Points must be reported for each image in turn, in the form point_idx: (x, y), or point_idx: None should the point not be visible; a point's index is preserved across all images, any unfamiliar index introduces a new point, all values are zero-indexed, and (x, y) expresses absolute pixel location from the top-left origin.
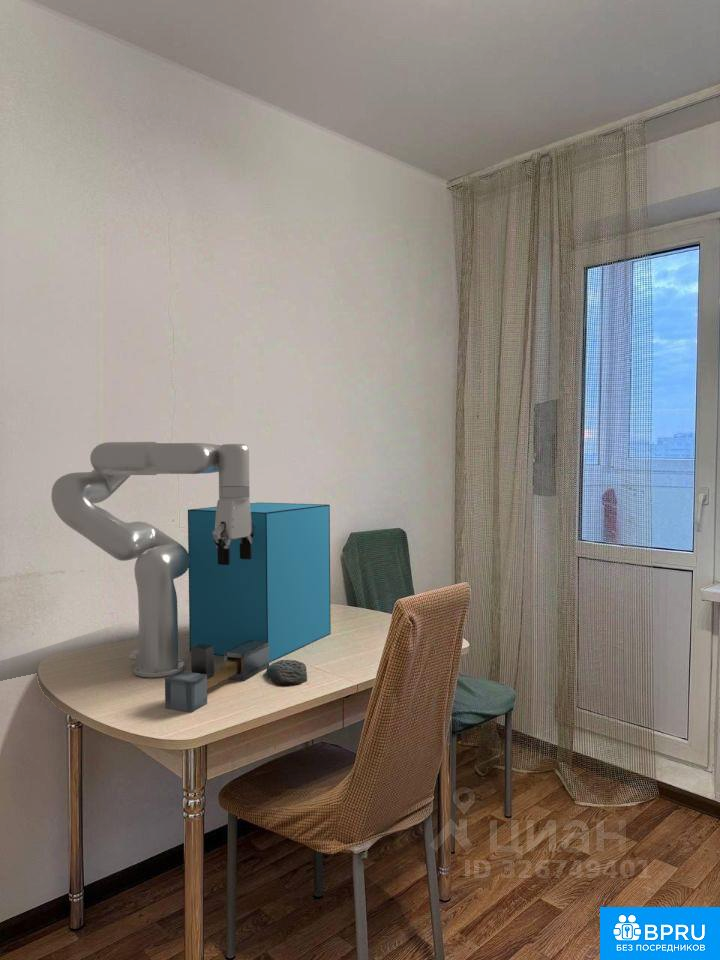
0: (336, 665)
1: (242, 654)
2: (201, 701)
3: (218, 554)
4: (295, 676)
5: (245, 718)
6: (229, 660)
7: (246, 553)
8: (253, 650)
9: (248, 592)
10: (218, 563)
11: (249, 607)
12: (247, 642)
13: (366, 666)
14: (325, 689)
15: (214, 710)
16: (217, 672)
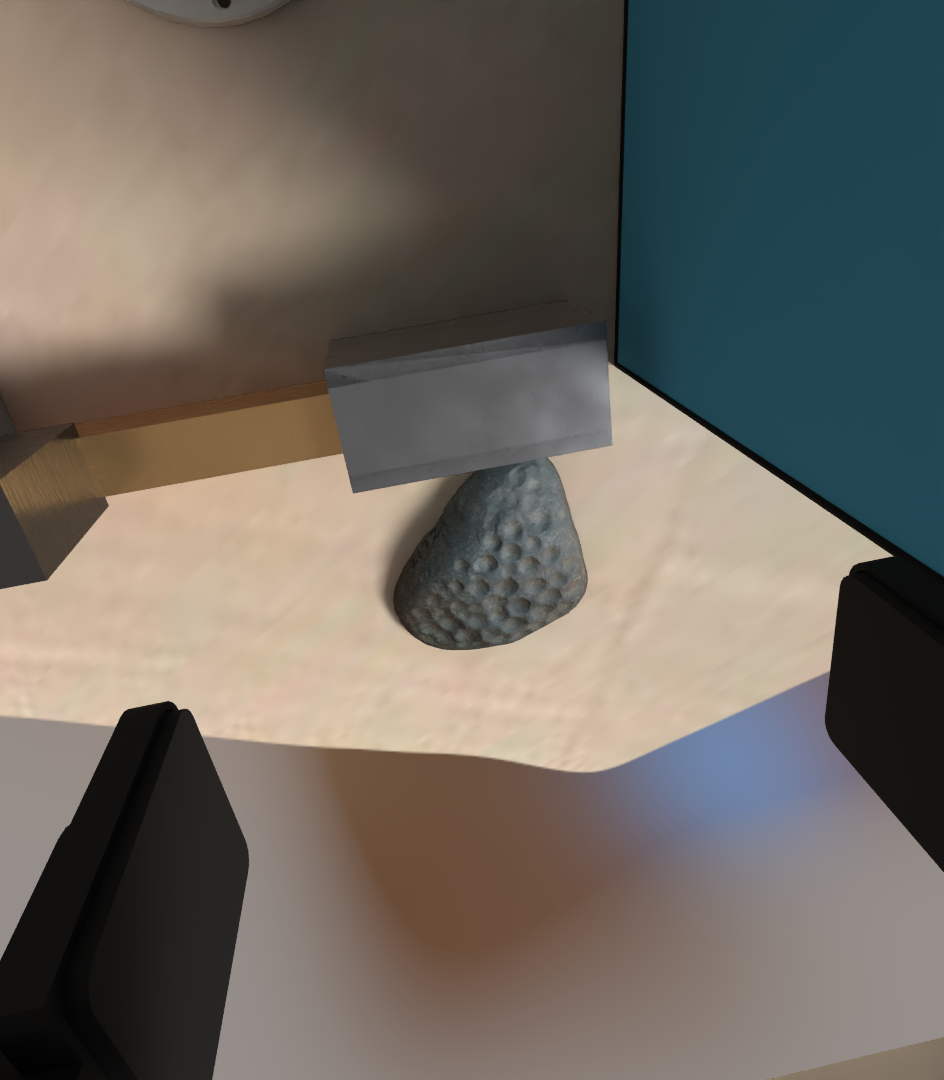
0: (706, 619)
1: (351, 485)
2: None
3: (64, 875)
4: (455, 641)
5: (72, 712)
6: (315, 412)
7: (894, 748)
8: (449, 474)
9: (849, 282)
10: (130, 722)
11: (768, 277)
12: (550, 344)
13: (733, 703)
14: (453, 735)
15: (33, 586)
16: (152, 485)
